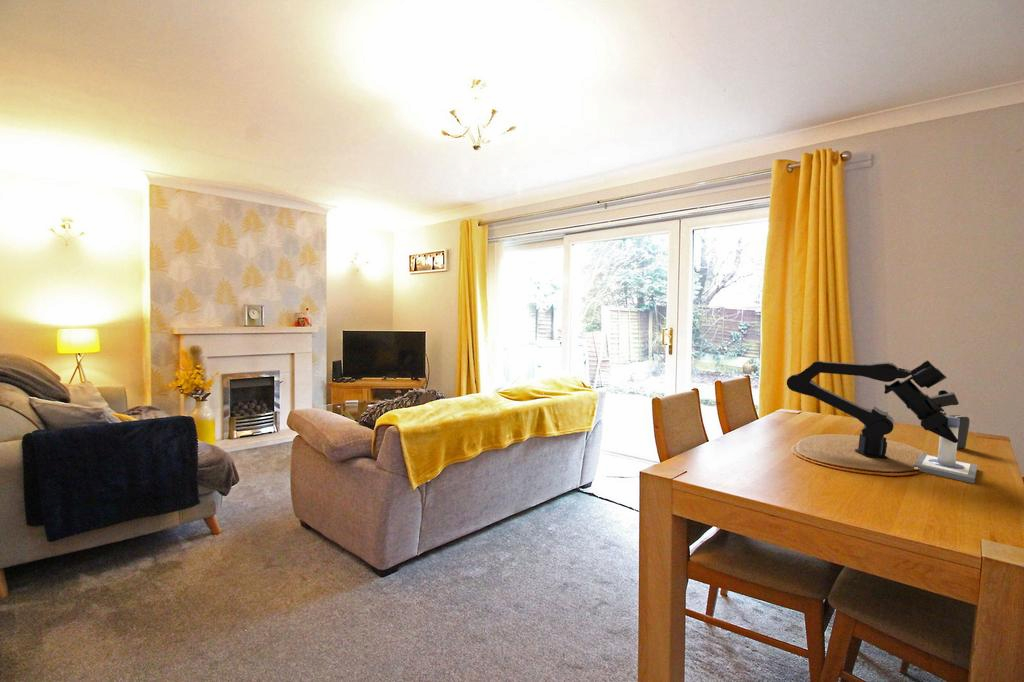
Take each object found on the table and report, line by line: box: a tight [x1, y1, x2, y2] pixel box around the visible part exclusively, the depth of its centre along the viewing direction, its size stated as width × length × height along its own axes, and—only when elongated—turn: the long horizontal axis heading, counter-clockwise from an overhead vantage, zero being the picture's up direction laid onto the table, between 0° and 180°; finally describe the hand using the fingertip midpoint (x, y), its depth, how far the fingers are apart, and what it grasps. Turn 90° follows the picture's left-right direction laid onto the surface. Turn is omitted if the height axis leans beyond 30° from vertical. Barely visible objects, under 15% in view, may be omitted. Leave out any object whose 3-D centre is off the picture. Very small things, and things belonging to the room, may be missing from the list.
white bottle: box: [937, 415, 960, 466], centre depth 143 cm, size 4×4×14 cm
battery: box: [949, 414, 970, 449], centre depth 168 cm, size 7×4×11 cm, turn 105°
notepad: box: [913, 452, 978, 485], centre depth 143 cm, size 18×13×2 cm
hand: (956, 440), depth 141 cm, fingers open, 5 cm apart
